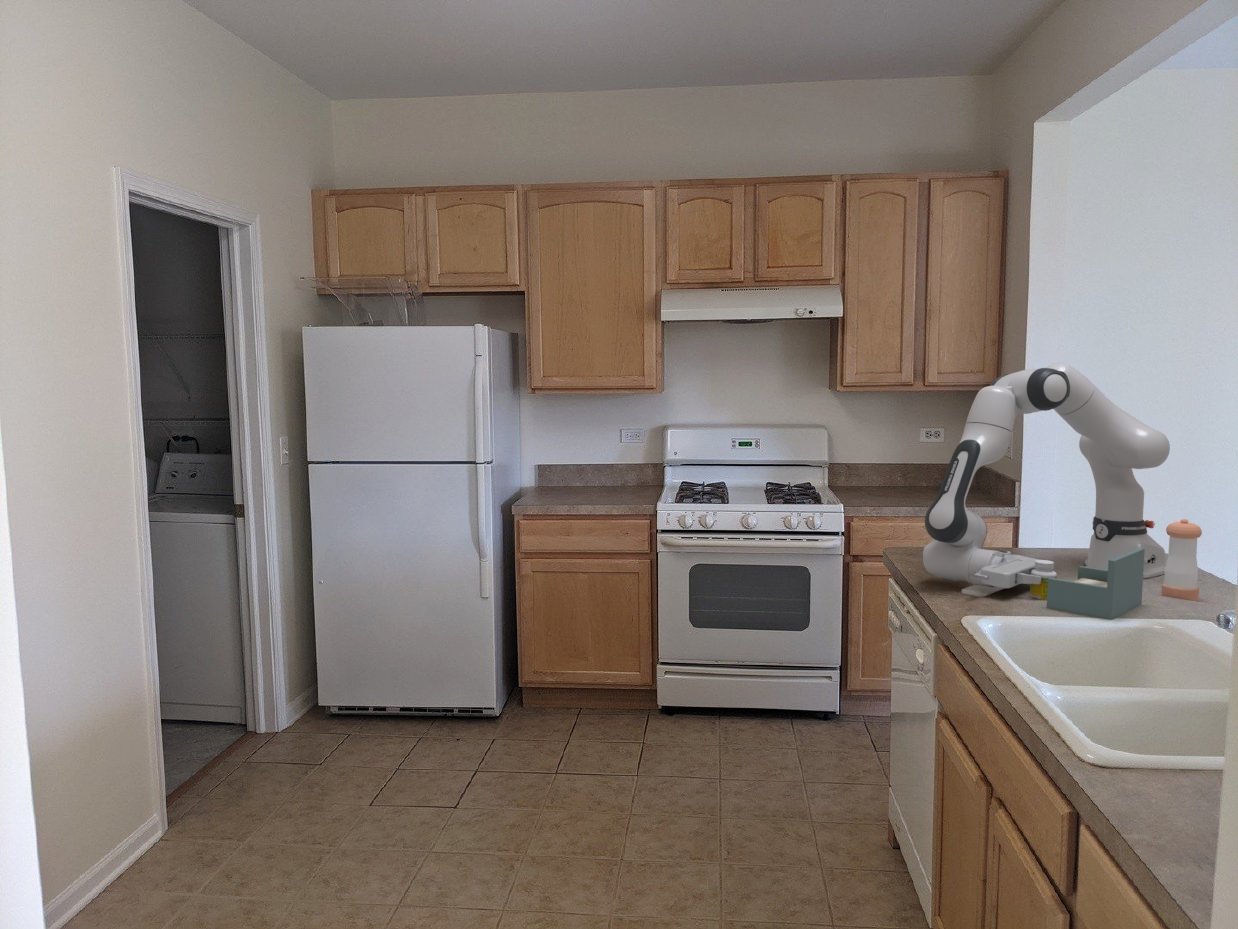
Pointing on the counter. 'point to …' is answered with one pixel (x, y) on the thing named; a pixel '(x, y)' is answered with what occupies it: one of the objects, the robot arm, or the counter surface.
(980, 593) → the plate
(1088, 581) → the birch offcut top
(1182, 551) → the pepper shaker
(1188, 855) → the counter surface
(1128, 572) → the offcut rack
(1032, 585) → the supplement bottle
